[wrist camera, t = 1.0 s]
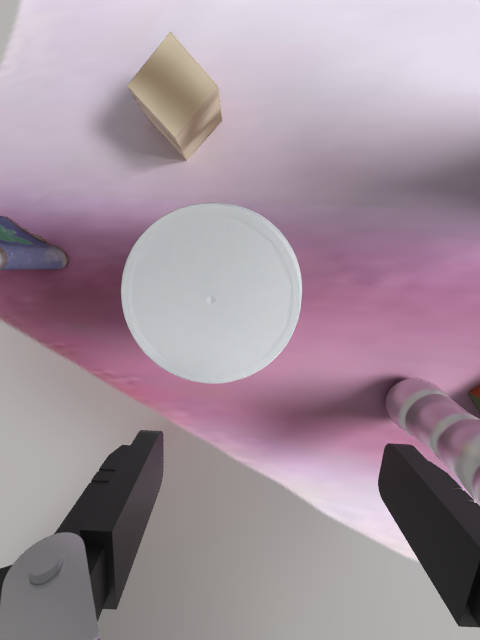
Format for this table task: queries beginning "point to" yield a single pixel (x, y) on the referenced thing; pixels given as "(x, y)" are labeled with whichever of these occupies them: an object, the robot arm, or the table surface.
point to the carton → (475, 397)
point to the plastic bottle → (439, 427)
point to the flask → (27, 249)
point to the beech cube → (177, 96)
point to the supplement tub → (212, 292)
